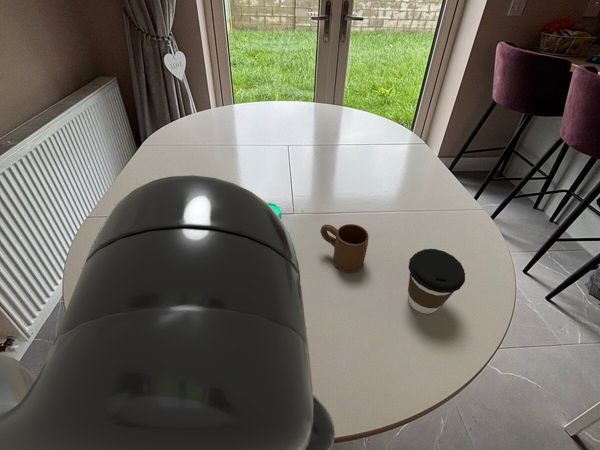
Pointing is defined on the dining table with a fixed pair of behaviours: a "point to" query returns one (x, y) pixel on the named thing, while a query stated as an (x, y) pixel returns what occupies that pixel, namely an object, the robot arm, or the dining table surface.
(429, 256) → the coffee cup
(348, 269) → the mug
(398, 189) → the dining table surface
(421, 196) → the dining table surface
